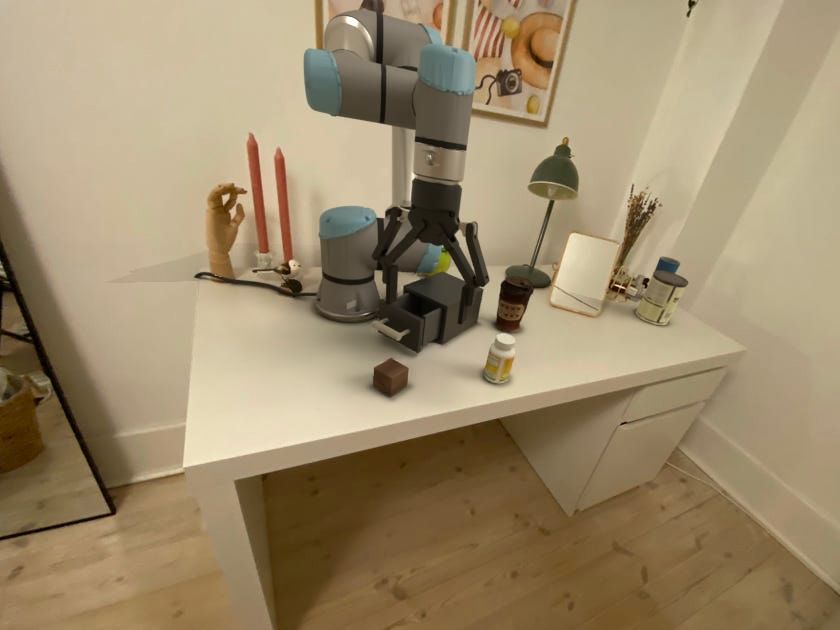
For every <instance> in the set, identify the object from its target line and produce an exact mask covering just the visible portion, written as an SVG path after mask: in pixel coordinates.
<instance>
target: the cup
mask: <svg viewBox="0 0 840 630" xmlns="http://www.w3.org/2000/svg"><path fill="white" fill-rule="evenodd" d="M680 265H681V262H680V261H679V260H677V259H675V258H672V257H669V256H659V259H658V261H657V263H656V265H655V269H654V271H656V270H661V271H667V272H671V273H674V274H677V271H678V269H679V267H680Z"/></svg>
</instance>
